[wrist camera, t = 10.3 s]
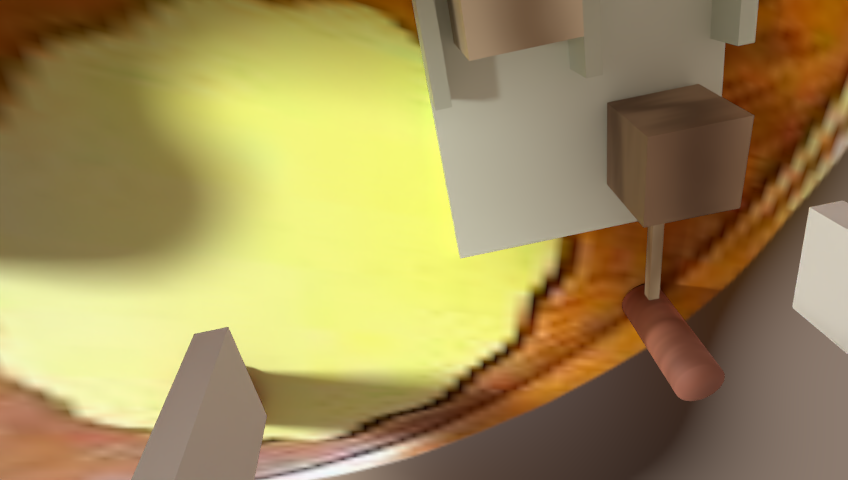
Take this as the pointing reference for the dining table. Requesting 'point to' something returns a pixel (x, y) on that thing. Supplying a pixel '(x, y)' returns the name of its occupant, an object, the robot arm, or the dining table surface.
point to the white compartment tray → (560, 111)
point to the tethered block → (675, 205)
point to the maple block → (512, 24)
